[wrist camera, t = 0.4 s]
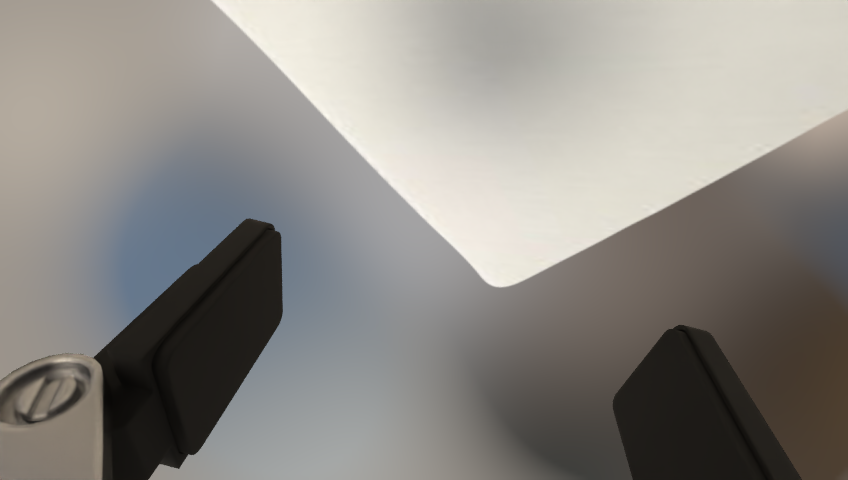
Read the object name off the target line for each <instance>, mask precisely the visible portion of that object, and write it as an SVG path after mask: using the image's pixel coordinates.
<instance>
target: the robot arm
mask: <svg viewBox="0 0 848 480" xmlns="http://www.w3.org/2000/svg"><path fill="white" fill-rule="evenodd" d="M282 312H283V305H282V258H281V235H280V233H279V232H277V231H275V228H274V226H273V225H272V224H270V223H266V222H261V221H257V220H253V219H246V220H244V221H243V222H242V223H241V224H240V225H239V226H238V227H237V228H236V229H235V230H234V231H233V232H232V233H230V234H229V235H228V236H227V237H226V238H225V239H224V240H223V241H222V242H221V243H220V244H219V245H218V246H217V247H216V248H215V249H213V250H212V251H211V252H210V253H209V254H208V255H207V256H206V257H205V258H204V259H203V260H202V261H201V262H200V263H199V264H197V265H194V266H192V267H191V268H190V269H188V270H187V271H186V272H185V273H184V274H183V275H182V276H181V277H179V279H177V280H176V281H175V282H174V283H173V284H172V285H171V286H170V287H169V288H168V289H167V290H166V291H164V292H163V293H162V294H161V295H160V296H159V297H158V298H157V299H156V300H155V301H154V302H153V303H152V304H151V305H150V306H148V307H147V308H146V309H145V310H144V311H143V312H142V313H141V314H140V315H139V316H138V317H137V318H135V319H134V320H133V321H132V322H131V323H130V324H129V325H128V326H127V327H126V328H125V329H124V330H123V331H122V332H120V333H119V334H118V335H117V336H116V337H115V338H114V339H113V340H112V341H111V342H110V343H109V344H108V345H106V346H105V347H104V348H103V349H102V350H101V351H100V352H99V353H98V354H97V355H96V356H95V357H94V358H92V357H89V356H86V355H83V354H73V353H65V354H58V355H52V356H48V357H45V358H41V359H38V360H35V361H32V362H30V363H28V364H26V365H24V366H22V367H20V368H18V369H16V370H14V371H13V372H11V373H10V374H9V375H7V376H6V377H4V378H3V379H2V380H0V480H148V479H149V478H150V477H151V475H152V474H153V472H154V471H155V469H156V468H157V466H158V465H159V464H163V465H167V466H171V467H174V468H178V469H179V468H180V466H181V465H182V463H183V462H184V460H185V459H186V457H187V455H188V454H190V455H194V454H196V453H197V452H198V451H199V450H200V448H201V447H202V446H203V444H204V442H205V441H206V439H207V437H208V436H209V435H210V433H211V431H212V430H213V428H214V427H215V425H216V424H217V422H218V420H219V418H220V417H221V416H222V414H223V412H224V411H225V409H226V408H227V406H228V405H229V403H230V401H231V400H232V398H233V397H234V395H235V393H236V392H237V390H238V389H239V387H240V385H241V384H242V382H243V381H244V379H245V378H246V376H247V374H248V373H249V371H250V370H251V368H252V367H253V365H254V363H255V362H256V360H257V359H258V357H259V355H260V354H261V352H262V351H263V349H264V348H265V346H266V344H267V343H268V341H269V340H270V338H271V336H272V335H273V333H274V332H275V330H276V328H277V327H278V325H279V323H280V321H281V318H282ZM613 410H614V414H615V417H616V421H617V424H618V428H619V432H620V435H621V439H622V443H623V446H624V450H625V453H626V457H627V460H628V463H629V467H630V471H631V474H632V478H633V480H802V479H801V477H800V476H799V474H798V472H797V471H796V469H795V468H794V466H793V464H792V463H791V461H790V460H789V458H788V457H787V455H786V453H785V452H784V450H783V448H782V447H781V445H780V444H779V442H778V440H777V439H776V437H775V436H774V434H773V432H772V431H771V429H770V428H769V426H768V424H767V423H766V421H765V419H764V418H763V416H762V415H761V413H760V411H759V410H758V408H757V407H756V405H755V403H754V402H753V400H752V399H751V397H750V395H749V394H748V392H747V391H746V389H745V388H744V386H743V384H742V383H741V381H740V379H739V378H738V376H737V375H736V373H735V371H734V370H733V368H732V367H731V365H730V363H729V362H728V360H727V359H726V357H725V355H724V354H723V352H722V351H721V349H720V348H719V346H718V344H717V343H716V341H715V339H714V338H713V336H712V335H711V334H710V333H709V332H707V331H704V330H700V329H696V328H692V327H688V326H684V325H678V326H676V327H674V328H673V329H669V330H667V331H666V332H665V333H664V334H663V335H662V337H661V338H660V339H659V340H658V342H657V343H656V344H655V345H654V347H653V348H652V349H651V350H650V352H649V353H648V354H647V356H646V357H645V358H644V360H643V361H642V362H641V363H640V364H639V366H638V367H637V368H636V369H635V371H634V372H633V373H632V374H631V376H630V377H629V378H628V380H627V381H626V382H625V383H624V385H623V386H622V387H621V388H620V390H619V391H618V392H617V393H616V395H615V397H614V400H613Z"/></svg>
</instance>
